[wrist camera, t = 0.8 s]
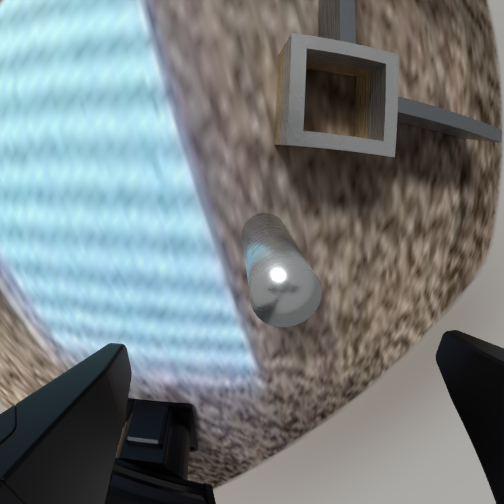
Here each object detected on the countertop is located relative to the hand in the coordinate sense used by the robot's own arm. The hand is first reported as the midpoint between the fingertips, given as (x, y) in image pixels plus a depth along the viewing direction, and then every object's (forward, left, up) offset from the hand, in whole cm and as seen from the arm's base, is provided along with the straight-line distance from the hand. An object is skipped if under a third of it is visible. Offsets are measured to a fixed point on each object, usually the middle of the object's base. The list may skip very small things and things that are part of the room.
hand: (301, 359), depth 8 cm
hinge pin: (0, 0, -12) cm, 12 cm away
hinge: (+13, -7, -12) cm, 19 cm away
